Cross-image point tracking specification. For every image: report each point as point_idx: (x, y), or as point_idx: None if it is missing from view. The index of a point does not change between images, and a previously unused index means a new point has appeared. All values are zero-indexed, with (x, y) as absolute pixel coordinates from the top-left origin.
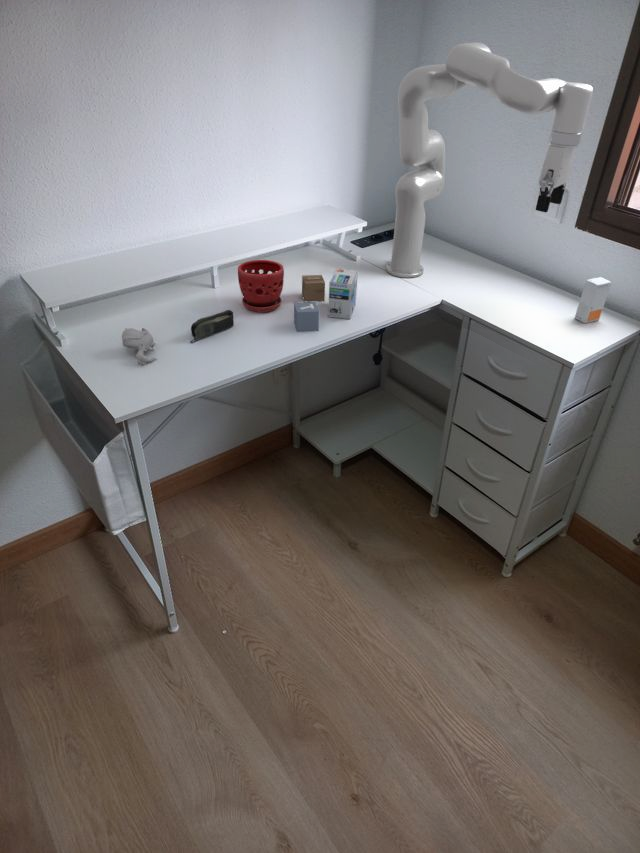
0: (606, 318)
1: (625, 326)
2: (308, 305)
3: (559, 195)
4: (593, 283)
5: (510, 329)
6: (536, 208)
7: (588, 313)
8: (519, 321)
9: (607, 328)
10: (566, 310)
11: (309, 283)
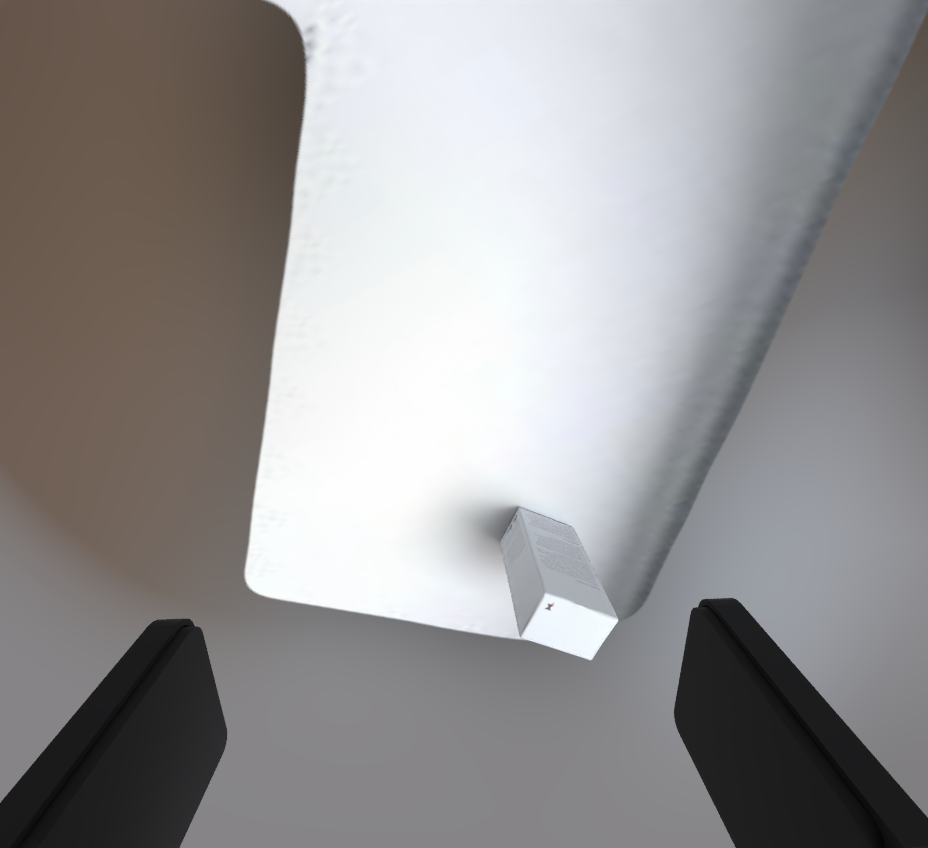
0: None
1: None
2: None
3: (744, 823)
4: (528, 621)
5: (285, 389)
6: (149, 639)
7: (504, 562)
8: (365, 386)
9: None
10: (560, 467)
11: None
